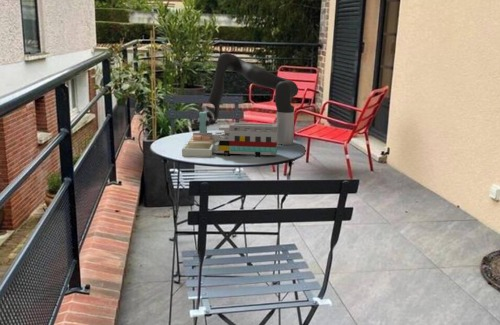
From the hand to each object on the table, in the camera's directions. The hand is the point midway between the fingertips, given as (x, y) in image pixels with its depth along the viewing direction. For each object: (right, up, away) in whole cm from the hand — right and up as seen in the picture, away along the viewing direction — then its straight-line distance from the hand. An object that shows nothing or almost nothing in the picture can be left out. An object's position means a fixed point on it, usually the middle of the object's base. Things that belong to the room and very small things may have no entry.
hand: (202, 124), depth 255 cm
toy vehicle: (+22, -16, -14) cm, 31 cm away
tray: (-1, -15, -13) cm, 20 cm away
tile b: (-2, -8, -2) cm, 9 cm away
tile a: (+2, -8, -2) cm, 9 cm away
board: (0, -12, +1) cm, 12 cm away
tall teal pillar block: (0, -7, +5) cm, 8 cm away
